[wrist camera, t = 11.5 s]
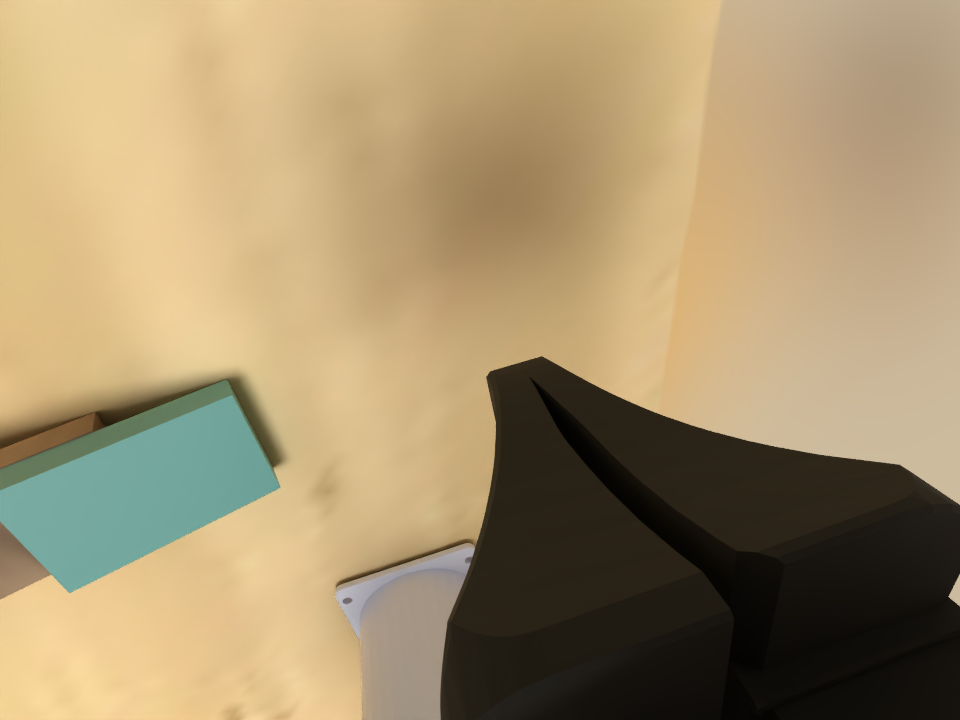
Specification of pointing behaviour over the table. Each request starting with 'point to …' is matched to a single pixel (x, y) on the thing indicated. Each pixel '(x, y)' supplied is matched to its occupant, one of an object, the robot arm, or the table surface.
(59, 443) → the walnut domino
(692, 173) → the table surface
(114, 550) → the teal domino
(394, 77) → the table surface
